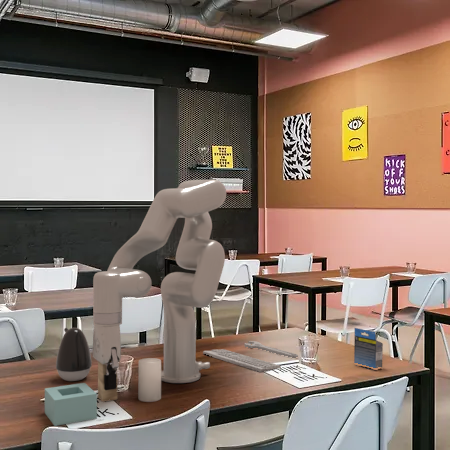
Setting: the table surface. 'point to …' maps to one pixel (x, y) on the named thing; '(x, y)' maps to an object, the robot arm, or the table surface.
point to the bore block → (70, 404)
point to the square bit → (102, 393)
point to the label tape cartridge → (367, 349)
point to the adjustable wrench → (269, 349)
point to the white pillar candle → (149, 380)
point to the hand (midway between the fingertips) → (107, 386)
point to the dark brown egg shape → (73, 356)
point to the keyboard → (242, 360)
